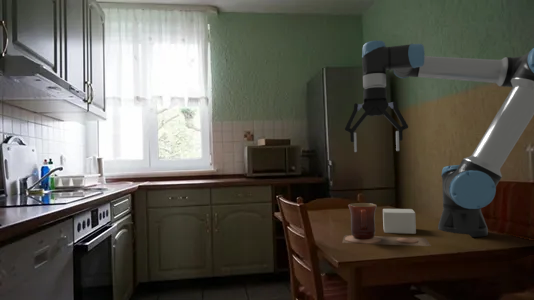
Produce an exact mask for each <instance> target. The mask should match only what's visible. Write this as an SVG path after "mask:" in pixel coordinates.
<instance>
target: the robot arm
mask: <svg viewBox="0 0 534 300" xmlns="http://www.w3.org/2000/svg"><path fill="white" fill-rule="evenodd" d="M361 61H362V63H361V64H362V88H363V90H362V92H363V93H362V94H363V103H354V105H353V110H352V112H351V115H350V116H349V119H348V122H347V124H346V125H345V128H344V131H346V132H349V133H350V142H351V143H353V147H354V148H353V151H354V153H357V152H358V147H357V146H358V145H357V144H358V142H357V132H356V130H357V129H358V128H359V127H360V125H361V124H362V123H363V122H364V121H365V120H366V118H367V117H375V116H376V117H381V116H384V118H386V119H387V120H388V121H389V122H390V124H391V125H392V126H393V127H394V128H395V129H397V130H396V131H395V145H396V146H395V147H396V148H395V150H396V152H400V142H402V141H403V139H404V138H403V131H404V130H406V129H408V128H409V125H408V123H407V122H406V120H405V118H404V116H403V114H402V113H401V111H400V109H399V107H398V102H397V100H394V101H392V102H388V97H387V88H386V87H387V71H388V70H389V71H393V74H394V76H396V77H398V78H400V79H407V78H409V77H410V78H423V79H424V78H426V79H440V80H451V81H453V80H454V81H466V82H467V81H468V82H479V83H493V84H496V85H497V86H498V87H504V88H511V90H510V91H509V93H508V95H507V97H506V98H505V100H504V101H503V103H502V105H501V106H500V108H499V109H498V110H497V113H496V114H495V116H494V117H493V119H492V121H491V123H490V125H489V126H488V128H487V129H486V131H485V133H484V135H483V136H482V138H481V139H480V140H479V143H478V144H477V146H476V148H475V149H474V151H473V152H472V154H471V155H470V156H467V157H464V158H462V160H461V162H460V163H459V164H456V165H453V164H452V165H447V166H444V167H443V168H442V170H441V179H442V181H441V182H442V186H441V187H442V212H441V215H440V217H439V222H438V226H437V227H438V228H437V229H438V230H439V231H443V232H446V233H451V234H452V233H453V234H460V235H461V234H463V235H469V236H470V237H471V238H479V237H480V238H481V237H486V236H488V235H489V233H488V232H489V231H488V230H489V229H488V225H487V223H486V220H485V218H484V215H483V213H482V208H484V207H487V206H488V205H490V203H492V202H493V200H494V198H495V196H496V193H497V192H496V191H497V186H498V184H499V182H500V181H501V179H502V177H503V174H502V172H501V168H502V167H503V165H504V163H505V162H506V161H507V159H508V157H509V155H510V153H511V152H512V150H513V149H514V148H515V145H516V144H517V143H518V141H519V140H520V137H521V136H522V135H523V133H524V131H525V130H526V128H527V127H528V125H529V124H530V122H531V120H532V119H533V117H534V47H533V48H532V49H531V50H530V51H528V52H526V53H525V54H524V55H521V56H520V55H519V56H514V57H513V56H512V57H511V56H510V57H508V56H504V57H503V58H502V59H490V58H489V59H488V58H487V59H486V58H472V57H471V58H470V57H450V56H449V57H448V56H432V55H431V56H430V55H425V46H424V44H422V43H410V44H404V45H401V44H400V45H395V46H387V45H386V42H385V41H383V40H370V41H367V42H365V43H364V44H363V45H362V55H361ZM389 107H390V108H391V109H392V110H393V112H394V114H395V116H396V117H397V119H398V120H399V122H400V123H401V125H402V126H401V125H400V124H399V123H398V122H397V121H396V120H395V118H393V117H392V116H391V114H389V112H388V111H387V109H388V108H389ZM361 109H363V111H364V113H362V115H361V116H360V118H359V119H358V120H357V121H356V122H355V124H354V125H353V126H352V124H353V122H354V119H355V118H356V116H357V113H358V111H360V110H361ZM351 126H352V127H351Z"/></svg>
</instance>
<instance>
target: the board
mask: <svg viewBox="0 0 534 300" xmlns="http://www.w3.org/2000/svg"><path fill="white" fill-rule="evenodd" d="M342 244H365V245H387V246H390V245H391V246H412V247H432V244H431V243H430V242H429V241H428V239H427V238H426V237H412V236H411V237H408V236H378V235H377V236H376V235H375V236H374V237H373V238H371V239H357V238H354V237H353V236H352V234H351V235H350V234H348V235H347V234H345V235H343V238H342Z"/></svg>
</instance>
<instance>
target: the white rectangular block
mask: <svg viewBox="0 0 534 300" xmlns="http://www.w3.org/2000/svg"><path fill="white" fill-rule="evenodd" d="M416 219H417V218H416V212H415V211H414V210H413V209H412V208H383V209H382V222H383V223H382V225H383V227H382V228H383V233H384V234H385V233H387V234H413V235H414V234H416V233H417V226H416V225H417V224H416Z"/></svg>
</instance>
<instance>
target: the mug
mask: <svg viewBox="0 0 534 300" xmlns="http://www.w3.org/2000/svg"><path fill="white" fill-rule="evenodd" d="M347 206H348V208H349V212H350V230H351V235H352V236H353V237H354V238H357V239H371V238H373V237H374V236H376V235H375V234H376V223H375V222H376V220H375V216H376V209H377V204H375V203H370V202H369V203H366V202H357V203H350V204H348V205H347Z"/></svg>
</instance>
